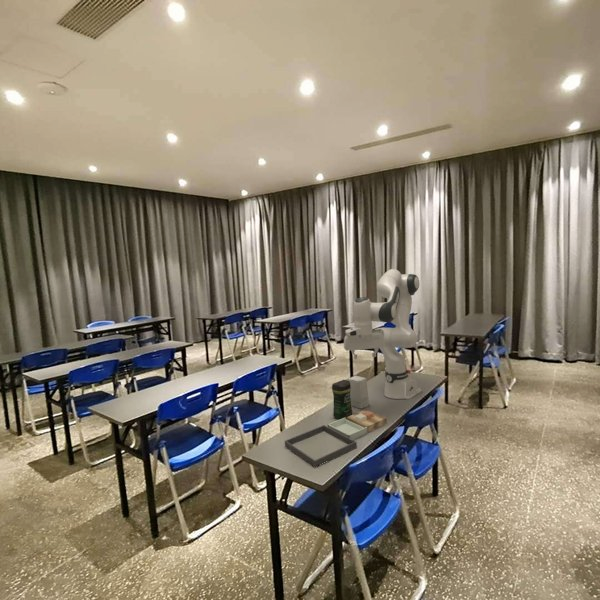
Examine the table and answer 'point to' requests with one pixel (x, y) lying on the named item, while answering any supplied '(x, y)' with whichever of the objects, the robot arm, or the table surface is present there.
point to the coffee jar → (342, 399)
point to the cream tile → (360, 417)
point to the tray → (348, 428)
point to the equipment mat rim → (327, 457)
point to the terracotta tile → (368, 414)
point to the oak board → (369, 421)
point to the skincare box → (358, 392)
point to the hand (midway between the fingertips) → (364, 357)
